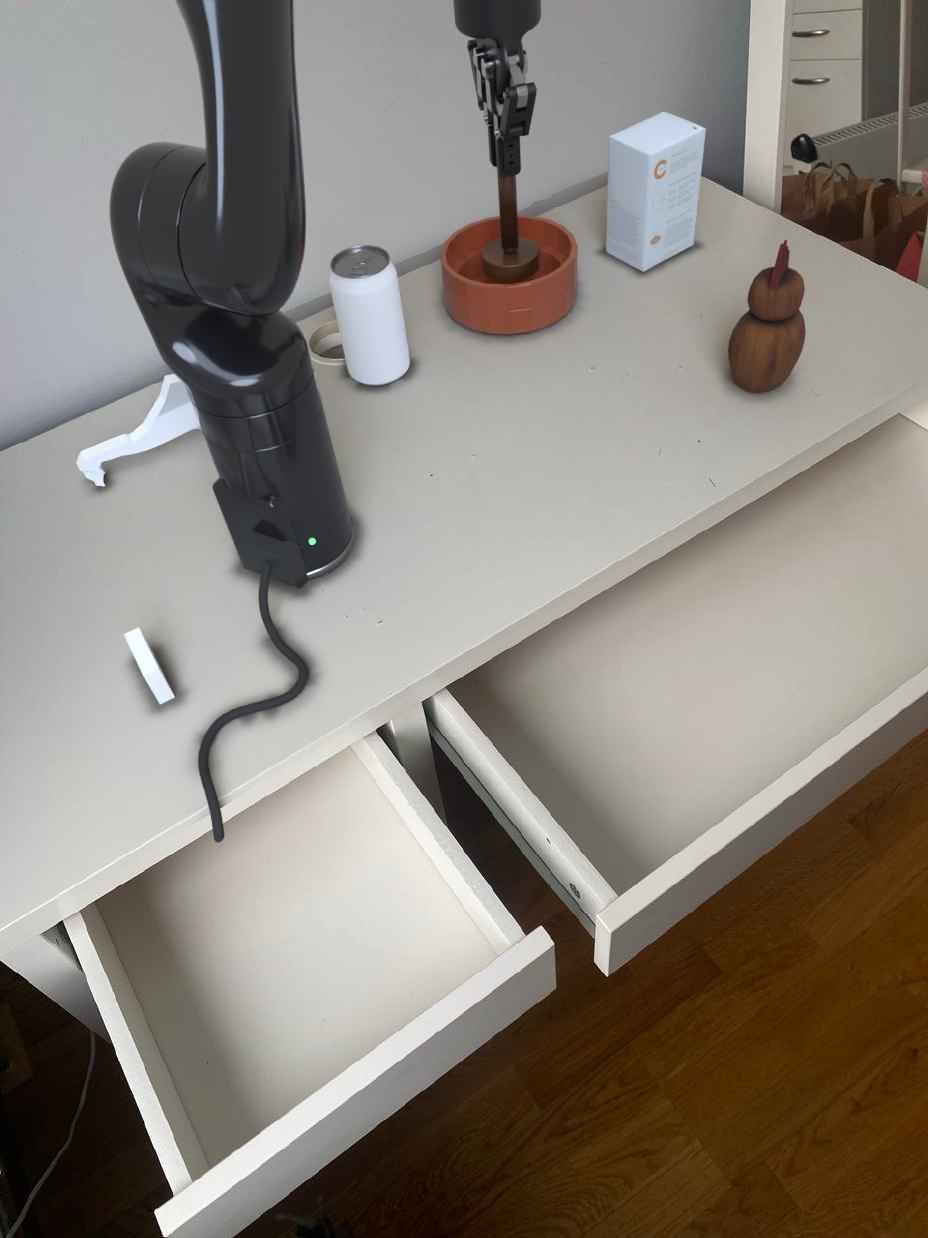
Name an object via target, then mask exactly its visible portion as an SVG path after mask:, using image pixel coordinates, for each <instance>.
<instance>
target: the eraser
mask: <svg viewBox="0 0 928 1238" xmlns="http://www.w3.org/2000/svg"><path fill="white" fill-rule="evenodd" d="M123 636H124V638H125V640H126V643H127V644H128V646H129V649H130V650H131V653H132V655H133V657H134V659H135V662H136V663H137V665H138V668H139V669H140V672H141V674H142V676H143V678H144V680H145V681H146V683H147V685H148V686H149V688H150V690H151V692H152V693H153V696H155V698H156V700H157V702H158V703H159V705H163V704H164V703H167V702H168V701H170V700H173V699H174V698H176V696H175V694H174V692H173V690H172V688H171V686H170V684H169V682H168V680H167V678H166V676H165V674H164V672H163V670H162V667H161V666H160V663H159V661H158V659H157V658H156V655H155V654H154V652H153V650H152V648H151V646H150V644H149V642H148V641H147V640H146V637H145V636H144V634H143V632H142V630H141V628H140V627H136V628H134V629H132V630H130V631H128V632H125V633H124V634H123Z"/></svg>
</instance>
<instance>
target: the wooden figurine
mask: <svg viewBox="0 0 928 1238" xmlns="http://www.w3.org/2000/svg"><path fill="white" fill-rule="evenodd" d="M790 251H791V250H790V249H789V246H788V240H787V239H784V241H783V243H780V244H779V248H778V251H777V256H776V260H775V264H774V266H769V267H766V268H763V269H762V270H760V271H759V272H758V273H757V274H756V276H755V277H754V278H753V280H752V282H751V284H750V286H749V289H748V294H747V300H746V301H747V306H748V310H747V311H746V312H745V313H744V314H742V316H740V318H739V320H738V321H737V322H736V324H735V326H734V327H733V329H732V331H731V334H730V337H729V339H728V345H727V356H728V357H727V359H728V363H729V368H730V372H731V375H732V378H733V381H734V382H735V383H736V384H737V385H738V386H739V387H740V388H742V389H743V390H745V391H747V392H750V393H754V394H755V393H756V394H757V393H759V394H760V393H767V392H770V391H771V392H772V391H773V390H776V389H777V388H779V387H780V386H782V385H783V384H784V383H785V382H786V381H787V380H788V378H789V377H790V375H791V373H792V372H793V370H794V368H795V367H796V364H797V363H798V361H799V358H800V356H801V355H802V352H803V349H804V345H805V342H806V341H805V340H806V332H807V331H806V323H805V319H804V315H803V313H802V312H801V310H800V308H801V306H802V302H803V299H804V297H805V296H804V295H805V289H806V287H805V281H804V278H803V276H802V275H801V274H800V273H799V272H798V271H797V270H796V269H793V268H791V267H790V265H789V264H790V263H789V262H790Z"/></svg>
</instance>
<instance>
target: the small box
mask: <svg viewBox="0 0 928 1238" xmlns="http://www.w3.org/2000/svg"><path fill="white" fill-rule="evenodd" d="M706 133H707V128H705V127H703V126H701V125H700V124H697V123H694V122H693V121H690V120H688V119H685V118H682V117H680V116H678V115H674V114H672V113H669V112H668V111H667V112H666V111H661V112H659V113H657V114H655V115H653V116H651V117H648V118H646V119H644V120H642V121H640V122H638V123H635V124H633V125H631V126H629V127H627V128H624V129H623V130H619V131H618V132H616V133H613V134H611V135H609V136H608V160H607V162H608V163H607V194H606V195H607V196H606V231H605V233H606V234H605V252H606V253H607V254H609V255H610V256H612V257H614V258H616V259H618V260H620V261H621V262H623V263H625V264H627V265H629V266H631V267H632V268H634V269H636V270H638V271H641V272H642V273H645V272H646V271H648V270H650V269H652V268H654V267H655V266H657V265H659V264H661V263H663V262H664V261H666V260H668V259H670V258H672V257H674V256H676V255H677V254H679V253H681V252H683V251H685V250H687V249H689V248H691V247H693V246H694V245H695V234H696V226H697V218H698V217H697V215H698V208H699V197H700V189H701V181H702V171H703V170H702V169H703V161H704V154H705V153H704V151H705V144H706V143H705V141H706Z"/></svg>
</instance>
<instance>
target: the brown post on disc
mask: <svg viewBox="0 0 928 1238" xmlns="http://www.w3.org/2000/svg"><path fill="white" fill-rule="evenodd" d="M496 174H497V175H496V177H497V190H498V191H497V192H498V193H497V195H498V207H499V208H498V209H499V210H498V211H499V216H500V229H501V238H498V239H495V240H493V241H491V242H489V243H488V244H487V245H486V246H485V247H484V248H483V250H482V263H483V271H484V273H485V274H486V275H487V276H488V277H490V278H492V279H494V280H497V281H503V282H513V281H520V280H523V279H526V278H528V277H530V276H532V275H533V274H535V273H536V271H537V270H538V268H539V247H538V245H537V244H536V243H535V242H534V241H533V240H531V239H528V238H525V237H520V236H518V216H517V215H518V195H517V193H518V192H517V175H513V176H509V177H505V178H502V177H501V176H500V175H499V174H498V172H497V171H496Z"/></svg>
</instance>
